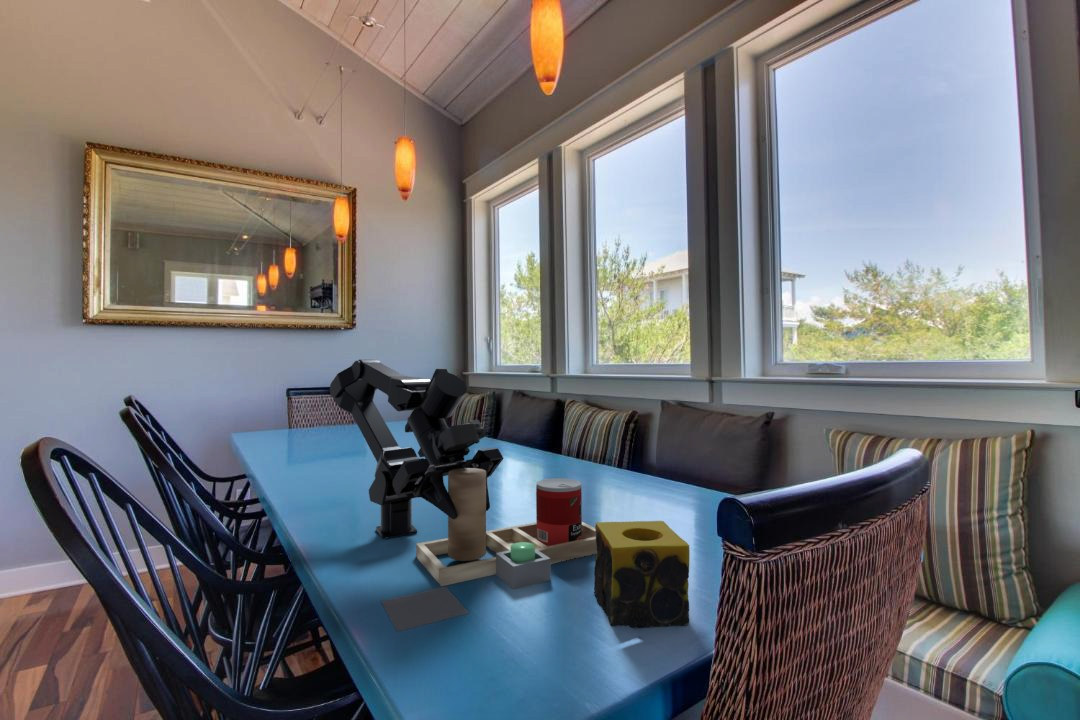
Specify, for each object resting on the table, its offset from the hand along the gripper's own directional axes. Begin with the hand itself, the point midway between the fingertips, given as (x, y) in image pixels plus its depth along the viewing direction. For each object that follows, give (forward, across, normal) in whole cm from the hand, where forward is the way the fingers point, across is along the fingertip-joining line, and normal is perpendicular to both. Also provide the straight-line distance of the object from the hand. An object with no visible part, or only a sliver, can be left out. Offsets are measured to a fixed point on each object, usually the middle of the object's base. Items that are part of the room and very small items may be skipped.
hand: (472, 513), depth 81 cm
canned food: (+8, +16, +4) cm, 19 cm away
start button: (+11, +2, -2) cm, 11 cm away
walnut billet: (+4, 0, +6) cm, 7 cm away
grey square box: (+12, +2, -1) cm, 13 cm away
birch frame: (+7, +8, +5) cm, 12 cm away
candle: (+25, +7, -13) cm, 29 cm away
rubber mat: (+11, -13, +1) cm, 17 cm away
